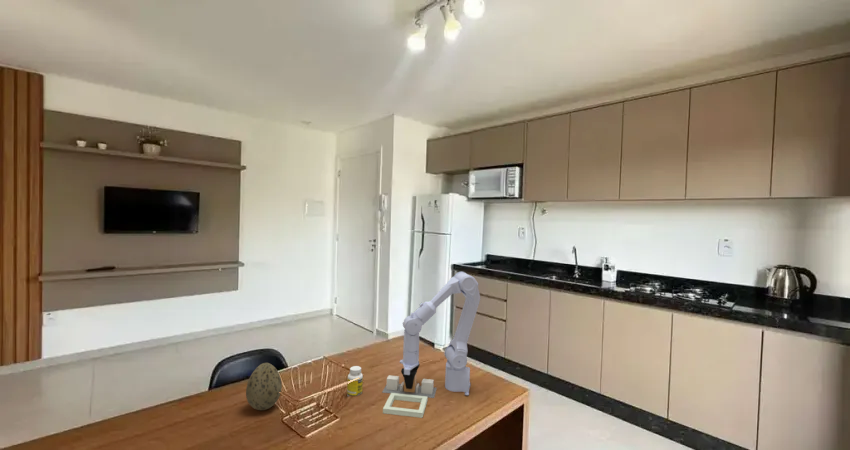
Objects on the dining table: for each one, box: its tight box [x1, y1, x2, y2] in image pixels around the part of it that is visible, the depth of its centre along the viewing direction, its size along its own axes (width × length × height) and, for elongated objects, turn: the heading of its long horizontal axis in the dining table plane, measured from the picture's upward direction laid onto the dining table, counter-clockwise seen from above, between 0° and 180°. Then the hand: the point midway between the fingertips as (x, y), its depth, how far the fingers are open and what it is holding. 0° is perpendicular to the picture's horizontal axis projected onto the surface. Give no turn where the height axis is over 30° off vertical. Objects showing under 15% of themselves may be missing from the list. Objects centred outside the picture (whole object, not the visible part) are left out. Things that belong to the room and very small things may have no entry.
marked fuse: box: [403, 373, 417, 392], centre depth 136 cm, size 4×3×6 cm
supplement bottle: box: [346, 365, 364, 397], centre depth 133 cm, size 5×5×10 cm
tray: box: [382, 393, 429, 419], centre depth 124 cm, size 13×11×2 cm
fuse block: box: [381, 374, 438, 399], centre depth 136 cm, size 19×8×5 cm, turn 81°
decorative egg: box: [245, 362, 283, 411], centre depth 122 cm, size 11×11×15 cm
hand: (410, 386), depth 136 cm, fingers closed on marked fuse, 3 cm apart
